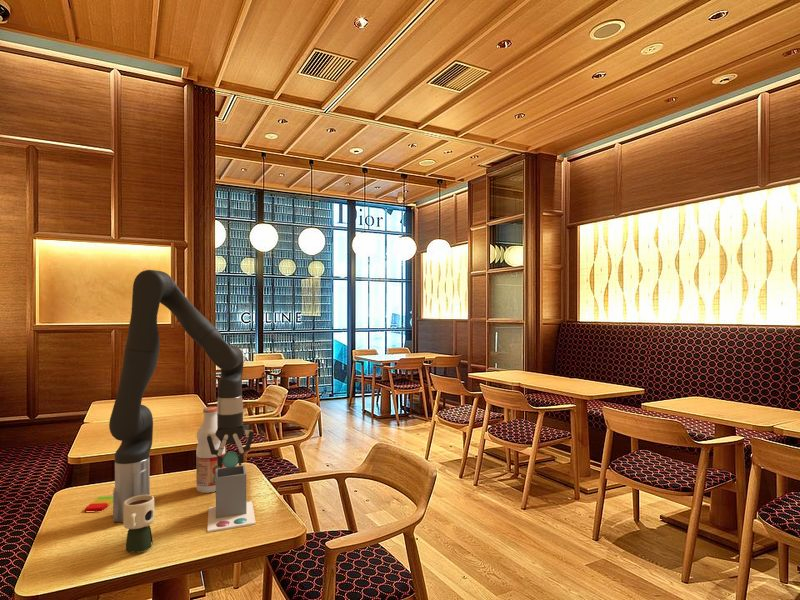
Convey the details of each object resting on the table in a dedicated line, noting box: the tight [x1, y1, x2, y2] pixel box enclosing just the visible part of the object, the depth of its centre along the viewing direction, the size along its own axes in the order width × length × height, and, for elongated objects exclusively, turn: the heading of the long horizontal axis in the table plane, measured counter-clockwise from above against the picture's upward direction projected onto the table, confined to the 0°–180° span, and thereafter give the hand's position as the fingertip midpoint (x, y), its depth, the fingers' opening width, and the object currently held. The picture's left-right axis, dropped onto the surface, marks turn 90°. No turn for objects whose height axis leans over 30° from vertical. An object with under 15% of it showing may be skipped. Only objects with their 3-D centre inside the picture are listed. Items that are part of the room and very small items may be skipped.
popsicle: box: [84, 493, 113, 512], centre depth 153 cm, size 6×15×2 cm, turn 6°
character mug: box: [123, 494, 155, 553], centre depth 123 cm, size 11×7×13 cm, turn 12°
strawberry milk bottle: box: [195, 406, 226, 494], centre depth 164 cm, size 9×9×28 cm
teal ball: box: [222, 450, 239, 468], centre depth 145 cm, size 5×5×5 cm
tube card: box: [207, 464, 257, 533], centre depth 142 cm, size 13×16×12 cm
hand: (230, 465), depth 145 cm, fingers closed on teal ball, 5 cm apart
